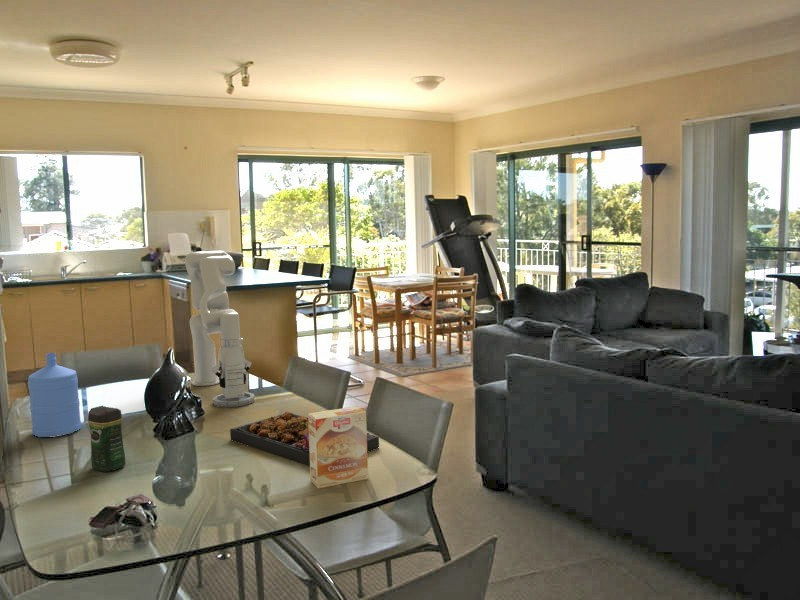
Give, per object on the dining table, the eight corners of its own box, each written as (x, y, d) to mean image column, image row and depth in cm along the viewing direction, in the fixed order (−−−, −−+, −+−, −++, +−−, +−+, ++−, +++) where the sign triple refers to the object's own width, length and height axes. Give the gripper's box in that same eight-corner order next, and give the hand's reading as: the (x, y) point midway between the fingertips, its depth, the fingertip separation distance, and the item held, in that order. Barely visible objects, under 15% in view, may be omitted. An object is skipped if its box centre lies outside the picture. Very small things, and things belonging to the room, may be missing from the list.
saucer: (206, 402, 286) (206, 397, 285) (242, 395, 296) (242, 389, 296) (225, 409, 274) (224, 404, 273) (261, 402, 284) (261, 396, 284)
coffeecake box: (318, 489, 191) (315, 419, 189) (309, 480, 198) (306, 412, 195) (369, 479, 198) (367, 411, 195) (359, 471, 204) (357, 405, 202)
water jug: (89, 430, 251) (82, 352, 247) (42, 441, 239) (35, 360, 236) (70, 422, 261) (64, 348, 258) (25, 432, 250) (18, 355, 247)
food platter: (379, 450, 224) (378, 418, 223) (320, 472, 206) (319, 437, 205) (288, 424, 254) (287, 396, 253) (230, 441, 236) (229, 411, 235)
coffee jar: (130, 466, 213) (126, 406, 211) (107, 474, 207) (102, 412, 204) (110, 460, 218) (106, 402, 216) (87, 468, 212) (82, 408, 210)
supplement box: (222, 394, 286) (220, 364, 285) (240, 392, 290) (239, 362, 288) (226, 398, 280) (224, 367, 278) (244, 396, 283) (243, 365, 281)
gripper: (245, 338, 290) (248, 380, 292) (206, 344, 279) (208, 387, 281) (254, 341, 285) (257, 383, 287) (214, 347, 274) (217, 391, 276)
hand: (233, 385), depth 284 cm, fingers closed on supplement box, 8 cm apart
